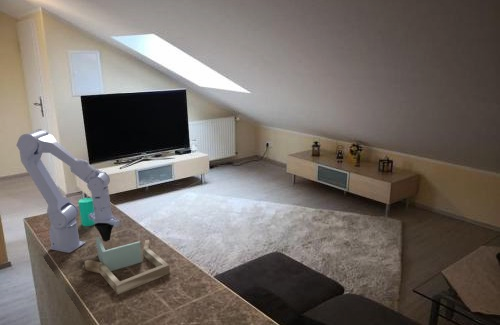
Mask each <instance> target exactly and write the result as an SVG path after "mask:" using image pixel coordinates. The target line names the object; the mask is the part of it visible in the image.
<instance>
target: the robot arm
mask: <svg viewBox="0 0 500 325" xmlns="http://www.w3.org/2000/svg"><path fill="white" fill-rule="evenodd" d="M16 147H17V149H18V150H19V157H20V162H21V163H22V165H23V167H24V168H25V169H26V172H27V173H28V175H29V177H30V178H31V179H32V181H33V183H34V184H35V186H36V188H37V189H38V191H39V193H40V194H41V195H42V197H43V199H44V201H45V202H46V204H47V210H46V214H47V215H48V219H49V223H50V227H49V231H48V235H49V240H50V244H51V245H50V246H51V247H49V249H50V250H53V251H57V252H62V253H63V252H64V253H68V254H70V253H72V252H74V251H75V250H76V249H79V248H80V247H81V246H84V245H85V244H86V241H83V240H80V236H79V231H78V230H79V229H78V223H77V217H78V215H79V207H77V206H76V204H74V203H73V202H72V201H71V200H70V199H69V198H68V197H64V196H63V194H62V192H61V191H60V190H59V188H58V186H57V185H56V182H55V181H54V179H53V178H52V176H51V174H50V173H49V171H48V170H47V168H46V166H45V165H44V163H43V161H42V160H41V158H42V155H43V153H45V154H50V155H53V156H54V157H56V158H57V159H58V160H60V161H61V162H63V163H64V164H66V165H68V167H70V172H71V173H73V174H74V175H75V176H76V177H78V178H79V179H80V180H82V181H83V182H84V183H85V184H86V186H87V189H88V191H90V193H91V198H92V200H93V207H94V213H91V214H89V219H90V220H92V219H93V223H96V224H94V225H93V226H94V227H95V228H96V229H97V231H98V233H99V234H100V236H101V239H102V241H103V242H105V243H107V242H108V241H110V240H111V236H112V231H113V229H114V228H118V227H119V226H120V225H121V222H120V221H121V220H120V219H117V218H116V217H115V216H114V215H113V213H112V206H111V198H110V192H109V191H110V190H109V186H108V185H109V184H110V181H111V178H110V176H109V175H108V174H107V172H106V171H102V170H99V169H96V167H94V166H92V164H90V163H89V160H86V159H85V160H84V158H76V156H74V155H73V154H72V153H71V152H70V151H69V150H68V149H67V148H65V147H64V146H63V145H62V144H61V143H59V142H58V141H57V139H56V138H55V136H54V135H52V134H50V133H49V131H47V130H45V129H44V128H43V129H42V128H39V129H36V130H33V131H30V132H28V133H25V134H24V133H23V134H21V135H20V136H19V137H18V140H17V142H16Z"/></svg>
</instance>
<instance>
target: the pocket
mask: <svg viewBox="0 0 500 325" xmlns="http://www.w3.org/2000/svg"><path fill="white" fill-rule="evenodd" d="M150 243H151V242H150V239H146V240H144V245H143V255H144V258H146V259H147V260H148V261H149V262H150V263H151V264H152V265H154V268H151V269H148V270H146V271H143V272H140V273H138V274H136V275H133V276H131V277H129V278H128V277H127V278H126V279H123V280H119V279H118V278H117V277H116V276H115V275H114V273H113V272H112V271H110V270H109V269H108V268H107V267H106V266H105V264H104V263H101V262H100V261H97V260H91V259H87V260H85V261H84V268H85V271H89V272H92V273H93V272H94V273H98V274H99V275H101V276H102V278H104V280H105V281H106V282H107V283H108V284H109V286H110V287H111V288H112V289H113V291H114V292H115V293H116V294H117V295H121V294H123V293H126V292H128V291H130V290H133V289H135V288H138V287H141V286H143V285H145V284H148V283H149V282H152V281H156V280H157V279H159V278H162V277H164V276H166V275H169V274H171V272H170V271H171V270H170V264H169V263H168V262H166V261H165V260H164V259H163V258H161V257H160V256H159V255H158V254H156V253H155V252H154V251H153V250H151V244H150Z"/></svg>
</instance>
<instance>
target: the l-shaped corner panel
mask: <svg viewBox="0 0 500 325" xmlns="http://www.w3.org/2000/svg"><path fill="white" fill-rule="evenodd" d="M95 243H96V249H97V256H98V259H99V262H101V263H104V264H105V266H106V267H107V268H108V269H109V270H110V271H111V272H112V271H116V270H119V269H123V268H127V267H130V266H133V265H136V264H139V263H142V262H143V256H142V248H141V241H135V242H131V243H128V244H123V245H120V246H116V247H112V248H109V249H106V248H105V246H104V244H103V242H102V240H101V239H100V237H99V236H96V237H95Z"/></svg>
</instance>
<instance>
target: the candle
mask: <svg viewBox="0 0 500 325" xmlns="http://www.w3.org/2000/svg"><path fill="white" fill-rule="evenodd" d="M78 210H79V214H80V220H81V225H82V226H83V227H91V226H94V224H96V223H93V219H92V220H90V219H89V214H91V213H94V207H93V200H92V197H84V198H81V199H79V200H78Z"/></svg>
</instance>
